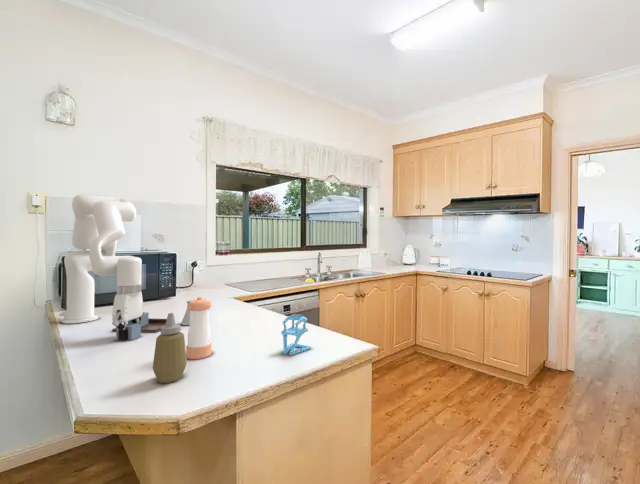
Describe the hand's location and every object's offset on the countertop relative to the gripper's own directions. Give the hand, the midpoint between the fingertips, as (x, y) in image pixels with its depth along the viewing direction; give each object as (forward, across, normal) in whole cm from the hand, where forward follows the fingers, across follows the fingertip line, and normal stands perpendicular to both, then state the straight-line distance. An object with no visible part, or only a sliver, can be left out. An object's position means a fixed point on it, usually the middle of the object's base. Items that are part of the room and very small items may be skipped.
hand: (128, 337), depth 127 cm
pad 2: (0, 0, 0) cm, 0 cm away
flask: (+1, -22, +11) cm, 25 cm away
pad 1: (-1, -14, -7) cm, 16 cm away
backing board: (0, -14, -4) cm, 15 cm away
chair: (+1, +10, +66) cm, 67 cm away
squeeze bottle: (+1, +34, +38) cm, 51 cm away
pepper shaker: (+1, +16, +36) cm, 39 cm away
